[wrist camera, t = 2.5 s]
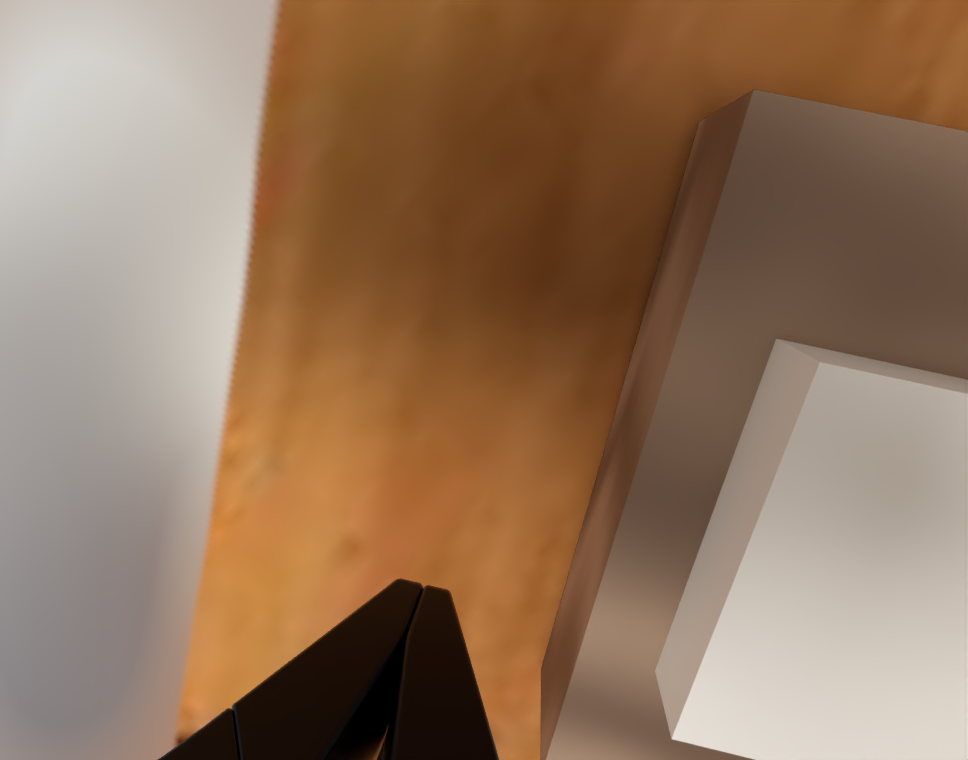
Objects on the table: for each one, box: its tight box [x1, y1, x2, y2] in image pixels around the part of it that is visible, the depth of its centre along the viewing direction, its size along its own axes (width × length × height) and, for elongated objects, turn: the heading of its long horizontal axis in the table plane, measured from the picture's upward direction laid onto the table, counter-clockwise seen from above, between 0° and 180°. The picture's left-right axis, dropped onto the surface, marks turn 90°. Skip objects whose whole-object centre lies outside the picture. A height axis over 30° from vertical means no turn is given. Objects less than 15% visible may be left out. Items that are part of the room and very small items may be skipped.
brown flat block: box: [540, 89, 968, 760], centre depth 15 cm, size 18×12×4 cm, turn 170°
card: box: [655, 339, 968, 760], centre depth 12 cm, size 9×6×2 cm, turn 170°
